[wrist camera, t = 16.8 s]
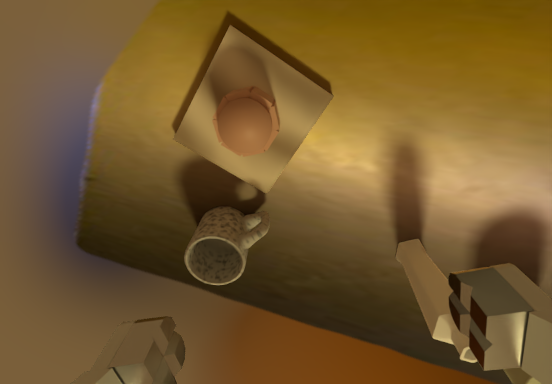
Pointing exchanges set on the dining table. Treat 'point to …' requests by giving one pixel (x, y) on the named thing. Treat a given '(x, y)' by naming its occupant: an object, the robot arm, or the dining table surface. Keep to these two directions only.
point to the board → (269, 78)
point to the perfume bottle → (432, 295)
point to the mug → (223, 244)
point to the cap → (247, 121)
